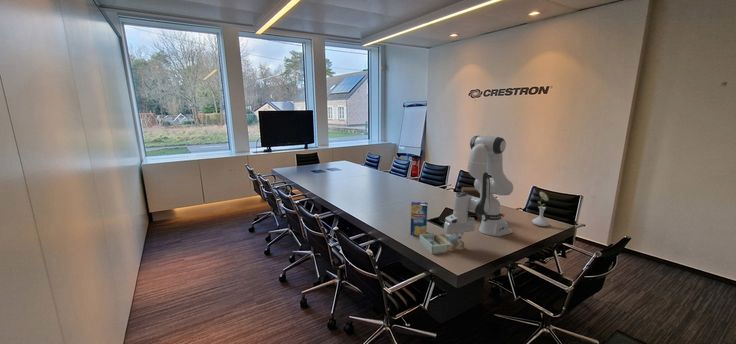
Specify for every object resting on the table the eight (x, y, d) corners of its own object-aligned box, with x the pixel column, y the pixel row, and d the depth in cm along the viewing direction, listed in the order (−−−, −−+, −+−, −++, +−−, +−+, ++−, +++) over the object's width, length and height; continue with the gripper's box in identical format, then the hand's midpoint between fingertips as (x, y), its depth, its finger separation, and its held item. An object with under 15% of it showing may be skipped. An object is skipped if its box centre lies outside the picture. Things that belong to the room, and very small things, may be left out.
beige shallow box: (450, 238, 204) (450, 233, 203) (463, 248, 189) (464, 242, 188) (434, 240, 201) (434, 235, 200) (446, 251, 186) (446, 245, 185)
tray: (433, 240, 202) (433, 233, 201) (446, 252, 185) (447, 244, 184) (419, 241, 199) (419, 234, 198) (431, 254, 182) (432, 246, 181)
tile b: (453, 239, 194) (453, 235, 193) (457, 242, 189) (458, 238, 188) (446, 240, 192) (446, 236, 192) (450, 243, 188) (450, 239, 187)
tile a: (423, 238, 197) (423, 242, 197) (426, 241, 192) (426, 245, 193) (430, 237, 198) (430, 241, 199) (433, 241, 193) (433, 244, 194)
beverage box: (426, 236, 209) (427, 205, 204) (410, 234, 211) (411, 204, 207) (426, 232, 215) (427, 202, 211) (411, 230, 218) (411, 201, 213)
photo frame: (458, 214, 251) (460, 185, 246) (485, 215, 249) (488, 185, 243) (462, 221, 237) (464, 190, 231) (490, 221, 234) (493, 190, 229)
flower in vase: (551, 228, 221) (555, 195, 216) (534, 227, 223) (538, 194, 218) (544, 221, 233) (548, 190, 228) (528, 220, 236) (532, 189, 231)
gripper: (471, 214, 194) (470, 235, 197) (443, 217, 189) (442, 238, 192) (477, 218, 188) (476, 238, 191) (448, 221, 183) (447, 242, 186)
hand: (458, 238), depth 191 cm, fingers closed
